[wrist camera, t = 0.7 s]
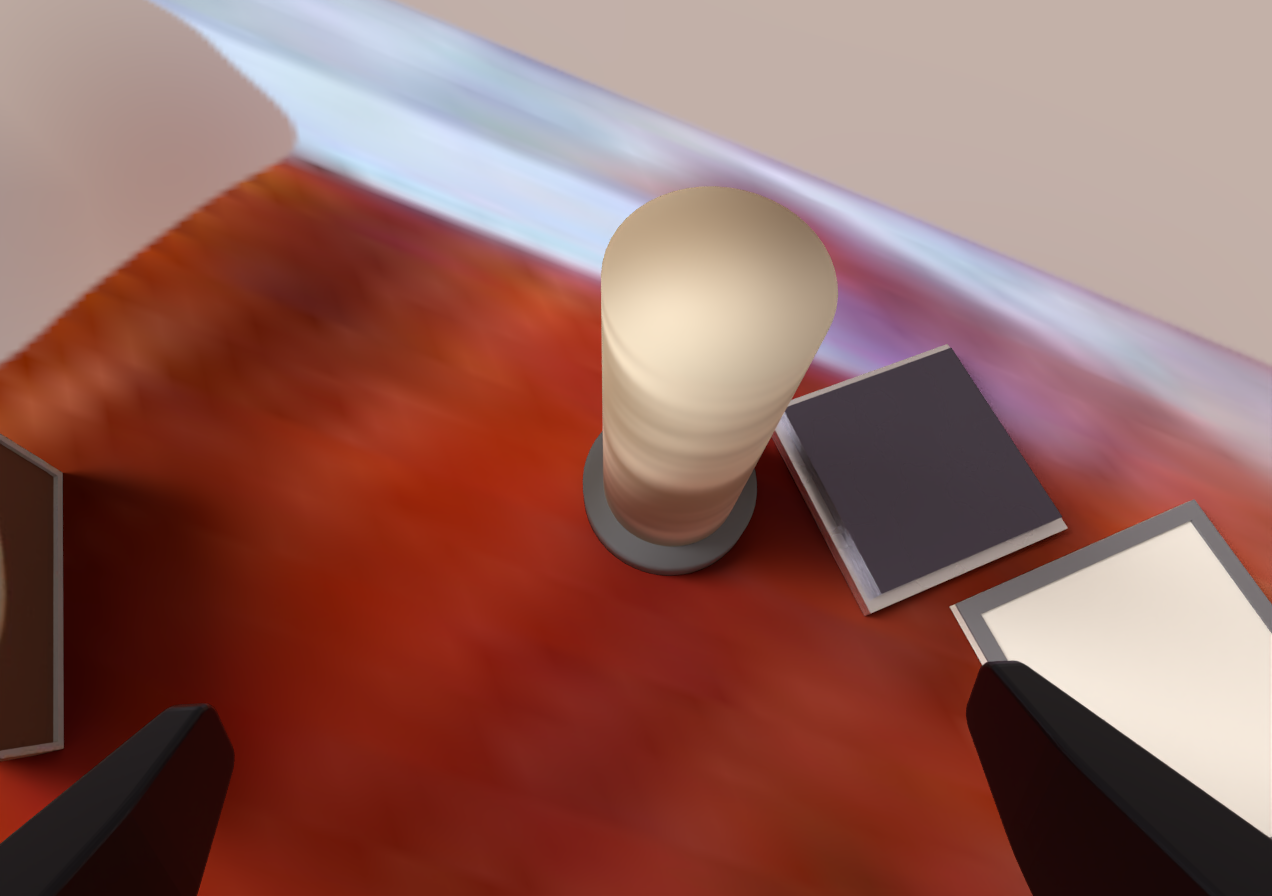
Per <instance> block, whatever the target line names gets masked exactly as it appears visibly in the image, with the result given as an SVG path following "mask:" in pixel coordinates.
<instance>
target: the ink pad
mask: <svg viewBox="0 0 1272 896" xmlns="http://www.w3.org/2000/svg"><path fill="white" fill-rule="evenodd" d="M771 437H772V439H773V440H774V442H775V444H776V446H777V448H778V450H779V452H780V454H781V456H782V458H783V460H784V462H785V464H786V466H787V468H788V469H789V471H790V473H791V475H792V477H793V479H794V481H795V483H796V485H797V487H798V489H799V491H800V493H801V495H802V497H803V498H804V500H805V502H806V504H807V506H808V508H809V510H810V512H811V514H812V516H813V518H814V520H815V522H816V524H817V526H818V527H819V529H820V531H821V533H822V535H823V537H824V539H825V541H826V543H827V545H828V547H829V549H830V551H831V553H832V555H833V556H834V558H835V560H836V562H837V564H838V566H839V568H840V570H841V572H842V574H843V576H844V578H845V580H846V582H847V584H848V585H849V587H850V589H851V591H852V593H853V595H854V597H855V599H856V601H857V603H858V605H859V607H860V609H861V611H862V613H863V614H864V616H866V615H869V614H871V613H873V612H876V611H878V610H880V609H883V608H885V607H887V606H890V605H892V604H894V603H897V602H899V601H901V600H903V599H906V598H908V597H910V596H913V595H915V594H917V593H920V592H922V591H924V590H927V589H929V588H931V587H934V586H936V585H938V584H941V583H943V582H945V581H948V580H950V579H952V578H954V577H957V576H959V575H961V574H964V573H966V572H968V571H971V570H973V569H975V568H978V567H980V566H982V565H985V564H987V563H989V562H992V561H994V560H996V559H999V558H1001V557H1003V556H1005V555H1008V554H1010V553H1012V552H1015V551H1017V550H1019V549H1022V548H1024V547H1026V546H1029V545H1031V544H1033V543H1036V542H1038V541H1040V540H1043V539H1045V538H1047V537H1050V536H1052V535H1054V534H1056V533H1059V532H1061V531H1063V530H1065V529H1067V526H1066V525H1065V523H1064V521H1063V520H1062V518H1061V517H1062V516H1061V514H1060V513H1059V511H1058V510H1057V508H1056V507H1055V505H1054V504H1053V502H1052V501H1051V499H1050V498H1049V496H1048V494H1047V493H1046V491H1045V490H1044V488H1043V487H1042V485H1041V484H1040V482H1039V481H1038V479H1037V478H1036V476H1035V475H1034V473H1033V472H1032V470H1031V469H1030V467H1029V466H1028V464H1027V462H1026V461H1025V459H1024V458H1023V456H1022V455H1021V453H1020V452H1019V450H1018V449H1017V447H1016V446H1015V444H1014V443H1013V441H1012V440H1011V438H1010V437H1009V435H1008V433H1007V432H1006V430H1005V429H1004V427H1003V426H1002V424H1001V423H1000V421H999V420H998V418H997V417H996V415H995V414H994V412H993V411H992V409H991V408H990V406H989V404H988V403H987V401H986V400H985V398H984V397H983V395H982V394H981V392H980V391H979V389H978V388H977V386H976V385H975V383H974V382H973V380H972V379H971V377H970V375H969V374H968V372H967V371H966V369H965V368H964V366H963V365H962V363H961V362H960V360H959V359H958V357H957V356H956V354H955V353H954V351H953V350H952V348H950V347H949V346H948V344H946V345H944V346H941V347H938V348H935V349H932V350H930V351H927V352H924V353H921V354H919V355H916V356H913V357H910V358H907V359H905V360H902V361H899V362H896V363H893V364H891V365H888V366H885V367H882V368H880V369H877V370H874V371H871V372H868V373H866V374H863V375H860V376H857V377H855V378H852V379H849V380H846V381H843V382H841V383H838V384H835V385H832V386H830V387H827V388H824V389H821V390H818V391H816V392H813V393H810V394H807V395H805V396H802V397H799V398H796V399H793V400H791V401H790V403H789V405H788V406H787V408H786V410H785V412H784V414H783V416H782V418H781V419H780V421H779V423H778V425H777V427H776V429H775V431H774V432H773V434H772V436H771Z"/></svg>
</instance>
